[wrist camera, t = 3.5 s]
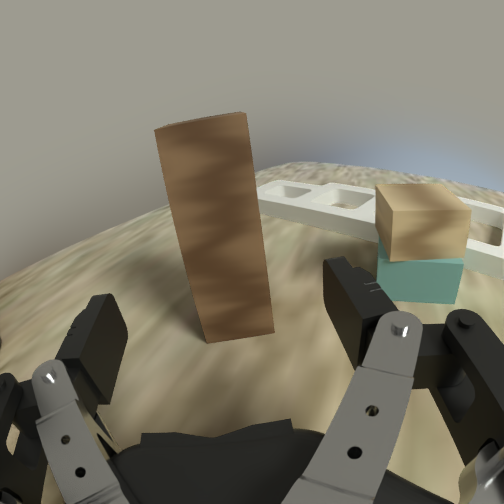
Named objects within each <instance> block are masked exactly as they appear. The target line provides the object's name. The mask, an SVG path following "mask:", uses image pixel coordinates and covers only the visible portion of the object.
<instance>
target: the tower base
mask: <svg viewBox="0 0 504 504" xmlns="http://www.w3.org/2000/svg"><path fill="white" fill-rule="evenodd" d="M463 266H464V263H463V261H462V258H452V259H433V260H412V261H394V262H390V261H389V258H388V256H387V253H386V251H385V248H384V246H383V244H382V241H381V239H380V236H379V239H378V257H377V278H376V283H378V284H379V285H380V287H381V289H383V290H384V292H385V293H386V294H387V296H388V297H389V298H390V300H391V301H405V302H421V303H439V304H455V300H456V296H457V292H458V288H459V284H460V280H461V275H462V271H463Z"/></svg>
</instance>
